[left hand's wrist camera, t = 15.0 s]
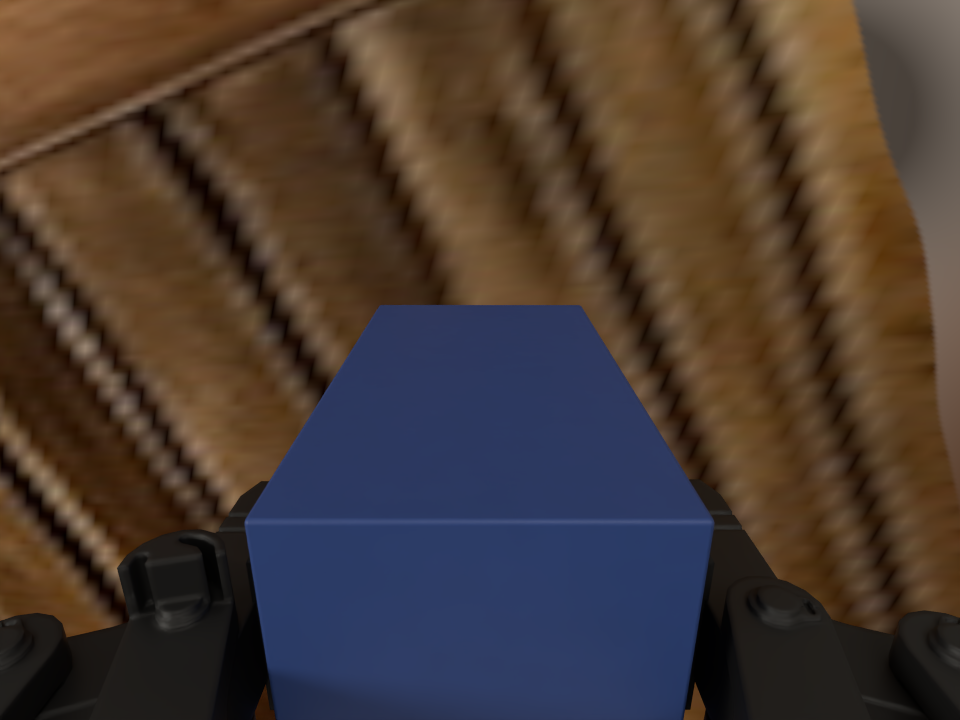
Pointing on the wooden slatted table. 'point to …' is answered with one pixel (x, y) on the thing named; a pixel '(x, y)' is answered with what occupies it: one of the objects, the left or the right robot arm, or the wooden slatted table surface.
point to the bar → (479, 531)
